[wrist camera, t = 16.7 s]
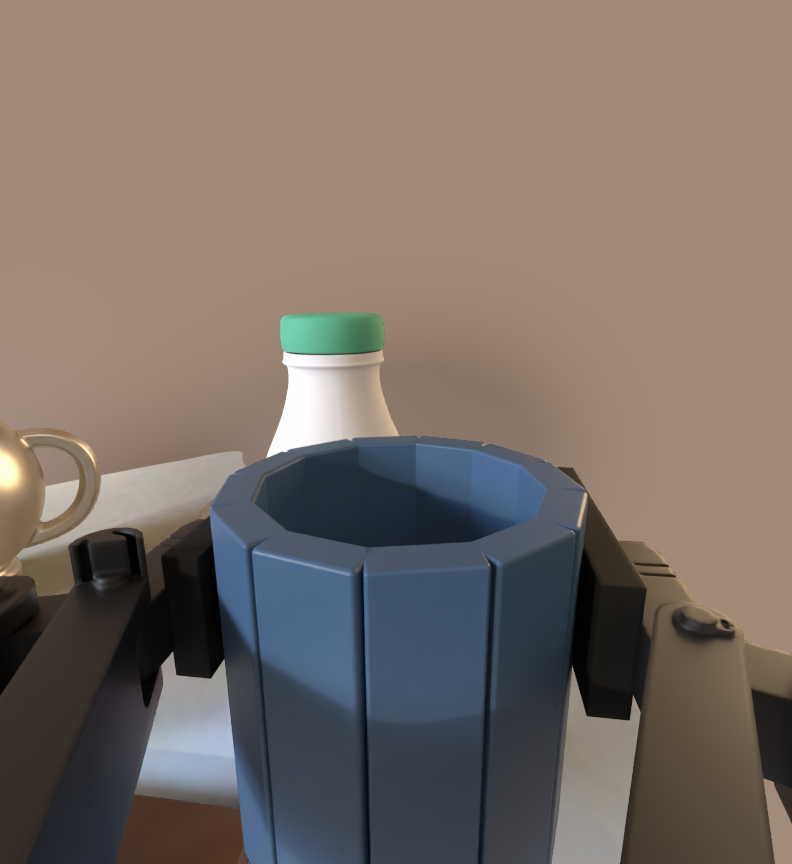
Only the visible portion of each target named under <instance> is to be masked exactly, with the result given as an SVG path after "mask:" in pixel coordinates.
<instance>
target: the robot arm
mask: <svg viewBox="0 0 792 864" xmlns="http://www.w3.org/2000/svg"><path fill="white" fill-rule="evenodd" d="M557 468H558V469H559V470H561V471H562V472H563V473H565V474H566V475H567V476H569V477H570V478H571V479H572V480H574V481H575V482H576V483H578V484H579V485H580V486H582V487H583V488H584V489H585V487H584V485H583V484H582V482H581V480H580V479H579V478H578V476H577V474H576V472H575V471H574V469H573V468H565V467H557ZM585 493H587V495H588V505H587V516H586V526H585V537H584V547H583V558H582V568H581V579H580V590H579V600H578V611H577V621H576V632H575V642H574V653H573V664H572V665H573V669H574V672H575V676H576V679H577V683H578V686H579V690H580V694H581V697H582V701H583V704H584V708H585V711H586V715H587V716H590V717H600V718H610V719H620V720H630V714H631V706H632V698H633V695H634V697H635V700H636V702H637V704H638V707H639V709H640V712H641V716H640V723H639V730H638V738H637V745H636V752H635V759H634V767H633V774H632V781H631V789H630V796H629V803H628V811H627V818H626V825H625V832H624V840H623V847H622V854H621V862H620V864H775V861H774V854H773V847H772V839H771V832H770V825H769V817H768V811H767V803H766V795H765V789H764V781H763V778H764V779H767V780H770V781H773V782H774V785H775V788H776V790H777V792H778V794H779V797H780V799H781V801H782V803H783V805H784V807H785V810H786V812H787V814H788V816H789V818H790V820H791V823H792V653H788V652H784V651H780V650H776V649H772V648H768V647H764V646H760V645H757V644H754V643H751V642H748V641H745V640H744V635H743V633H742V631H741V629H740V627H739V625H738V624H737V623H735V622H734V621H733V620H732V619H731V618H730V617H728V616H727V615H724V614H723V613H721V612H719V611H717V610H715V609H713V608H710V607H707V606H704V605H701V604H698V603H697V602H696V601H695V600H694V598H693V597H692V596H691V595H690V593H689V592H688V590H687V589H686V588H685V586H684V585H683V584H682V582H681V581H680V580H679V578H676V574H675V573H674V572H673V570H672V569H671V568H670V567H669V565H668V564H667V562H666V561H665V560H664V558H663V557H662V556H661V554H660V553H659V552H657V551H656V550H654V549H653V548H651V547H649V546H648V545H646V544H645V543H643V542H633V541H617V539H616V537H615V536H614V534H613V532H612V531H611V529H610V528H609V526H608V524H607V523H606V521H605V519H604V518H603V516H602V515H601V513H600V511H599V510H598V508H597V506H596V505H595V503H594V502H593V500H592V498H591V497H590V495H589V493H588V492H587V491H586V489H585ZM68 547H69V552H70V558H71V563H72V569H73V575H74V580H75V585H74V587H73V588H72V590H71V591H70V593H69V594H61V595H52V596H43V597H37V592H36V587H35V582H34V580H33V579H32V578H30V577H29V576H21V575H14V576H0V864H116V861H117V857H118V853H119V849H120V845H121V842H122V838H123V834H124V830H125V827H126V823H127V819H128V815H129V812H130V808H131V804H132V800H133V796H134V793H135V789H136V785H137V781H138V778H139V774H140V770H141V766H142V762H143V759H144V755H145V751H146V747H147V744H148V740H149V736H150V732H151V729H152V725H153V721H154V717H155V713H156V710H157V706H158V702H159V698H160V695H161V691H162V687H163V676H162V669H161V665H162V664H163V663H164V661H165V660H166V659H167V658H168V657H169V655H170V654H171V653H172V652H173V653H174V661H175V668H176V675H180V676H190V677H200V678H210V679H211V678H212V676H213V675H214V673H215V672H216V670H217V669H218V667H219V666H220V664H221V663H222V661H223V660H224V658H225V657H224V647H223V638H222V628H221V618H220V608H219V599H218V589H217V579H216V570H215V560H214V550H213V541H212V531H211V521H210V516H208V517H207V518H206V519H199V520H196V521H194V522H192V523H189V524H187V525H185V526H183V527H181V528H180V529H179V530H177V531H176V532H175V533H173V534H172V535H171V536H170V538H167V539H166V540H165V541H163V542H162V543H161V544H160V546H157V547H156V548H154V549H153V550H152V551H151V552H149V553H148V554H147V555H146V554H145V547H144V540H143V533H142V532H140V531H139V530H137V529H132V528H112V529H106V530H101V531H97V532H94V533H91V534H87V535H85V536H83V537H81V538H79V539H77V540H75V541H74V542H73V543H71V544H70V545H69V546H68Z"/></svg>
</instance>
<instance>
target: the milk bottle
mask: <svg viewBox="0 0 792 864" xmlns="http://www.w3.org/2000/svg"><path fill="white" fill-rule="evenodd" d="M280 331H281V332H280V334H281V335H280V336H281V345H282V349H283V350H284V359H283V364H285V365H286V366H287V367H288V372H289V385H288V392H287V398H286V402H285V407H284V410H283V415H282V417H281V421H280V423H279V426H278V429H277V431H276V434H275V437H274V439H273V442H272V444H271V447H270V449H269V452H268V455H267V458H268V457H270V456H272V455H275V454H277V453H279V452H282V451H283V452H287V450H289V449H293V448H299V447H304V446H310V445H315V444H320V443H326V442H331V441H337V440H342V439H348V440H351V441H352V438H360V437H390V436H399V434H398V432H397V430H396V428H395V426H394V424H393V422H392V419H391V417H390V414H389V412H388V409H387V406H386V403H385V400H384V396H383V393H382V389H381V385H380V378H379V367H380V364H381V363H382V362H383V361H384V358H383V352H382V349H383V346H384V323H383V319H382V317H381V316H380V315H377V314H370V313H309V314H292V315H286V316H284V317H283V318H282V319H281V323H280Z"/></svg>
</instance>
